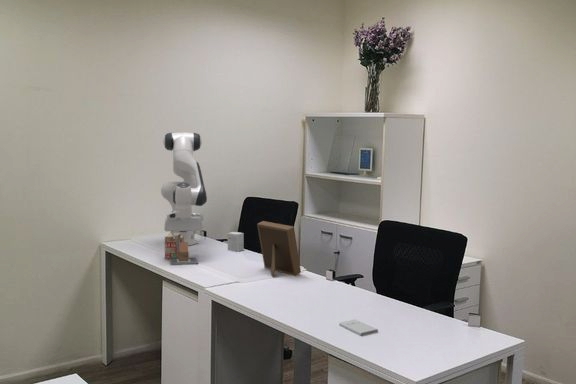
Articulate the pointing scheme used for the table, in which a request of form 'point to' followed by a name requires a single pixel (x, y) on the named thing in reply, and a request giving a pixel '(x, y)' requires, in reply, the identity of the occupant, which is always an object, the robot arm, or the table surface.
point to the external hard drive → (358, 327)
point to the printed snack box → (172, 245)
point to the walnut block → (183, 256)
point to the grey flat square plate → (176, 261)
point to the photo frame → (279, 248)
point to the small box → (235, 241)
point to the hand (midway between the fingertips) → (183, 238)
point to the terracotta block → (183, 246)
